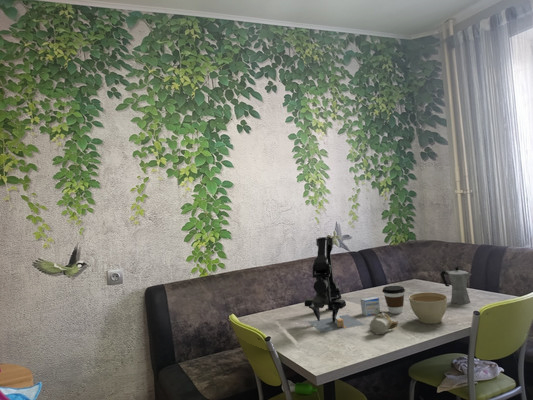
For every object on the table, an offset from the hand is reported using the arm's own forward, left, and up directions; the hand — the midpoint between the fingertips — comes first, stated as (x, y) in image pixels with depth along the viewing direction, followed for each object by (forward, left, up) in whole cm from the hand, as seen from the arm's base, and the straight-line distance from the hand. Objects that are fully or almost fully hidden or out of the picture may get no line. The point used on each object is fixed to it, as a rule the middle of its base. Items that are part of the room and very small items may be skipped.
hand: (326, 321), depth 184 cm
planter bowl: (+16, +44, -3) cm, 46 cm away
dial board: (0, +5, -3) cm, 5 cm away
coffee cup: (-4, +39, -3) cm, 39 cm away
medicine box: (-5, +26, -3) cm, 26 cm away
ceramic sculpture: (+16, +19, -3) cm, 26 cm away
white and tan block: (+2, +5, -1) cm, 5 cm away
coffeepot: (-2, +74, -3) cm, 74 cm away
